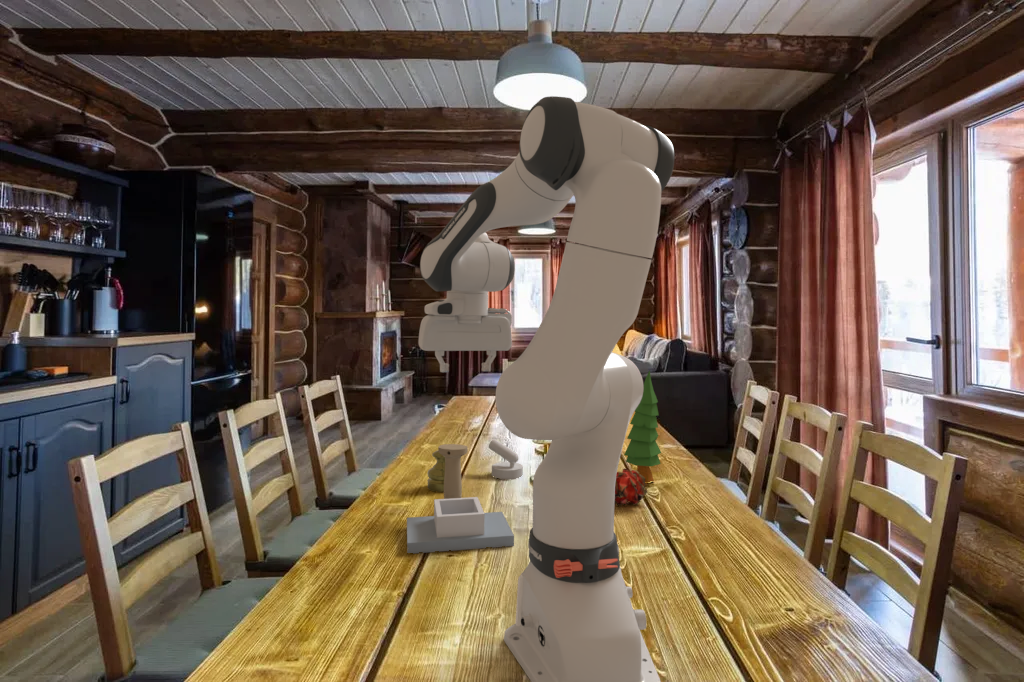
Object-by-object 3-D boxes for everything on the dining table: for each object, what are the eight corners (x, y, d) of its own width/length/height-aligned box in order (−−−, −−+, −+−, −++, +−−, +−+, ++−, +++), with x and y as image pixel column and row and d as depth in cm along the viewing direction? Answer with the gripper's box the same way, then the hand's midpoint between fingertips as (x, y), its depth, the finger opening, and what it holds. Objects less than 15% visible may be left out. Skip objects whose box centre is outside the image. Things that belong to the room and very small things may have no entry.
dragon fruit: (638, 501, 135) (622, 524, 124) (610, 478, 137) (593, 498, 127) (657, 478, 131) (643, 500, 121) (629, 455, 134) (612, 474, 123)
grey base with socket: (514, 545, 104) (514, 514, 104) (407, 553, 100) (407, 521, 100) (501, 520, 117) (502, 493, 117) (406, 527, 113) (406, 498, 113)
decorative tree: (663, 486, 142) (665, 371, 141) (627, 486, 142) (629, 371, 141) (654, 475, 152) (656, 368, 150) (620, 475, 152) (622, 367, 150)
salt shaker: (460, 490, 137) (460, 451, 137) (431, 494, 135) (431, 453, 134) (452, 482, 144) (452, 444, 144) (424, 485, 141) (424, 447, 141)
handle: (462, 519, 118) (462, 450, 117) (434, 516, 119) (434, 448, 119) (470, 511, 122) (470, 445, 122) (443, 508, 124) (443, 443, 123)
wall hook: (498, 435, 158) (528, 439, 152) (498, 468, 158) (528, 473, 153) (481, 441, 150) (512, 445, 145) (481, 475, 151) (512, 481, 145)
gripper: (506, 308, 124) (504, 369, 125) (417, 305, 115) (415, 370, 116) (517, 308, 118) (515, 372, 119) (424, 306, 110) (423, 374, 111)
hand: (465, 371), depth 117 cm, fingers open, 8 cm apart
